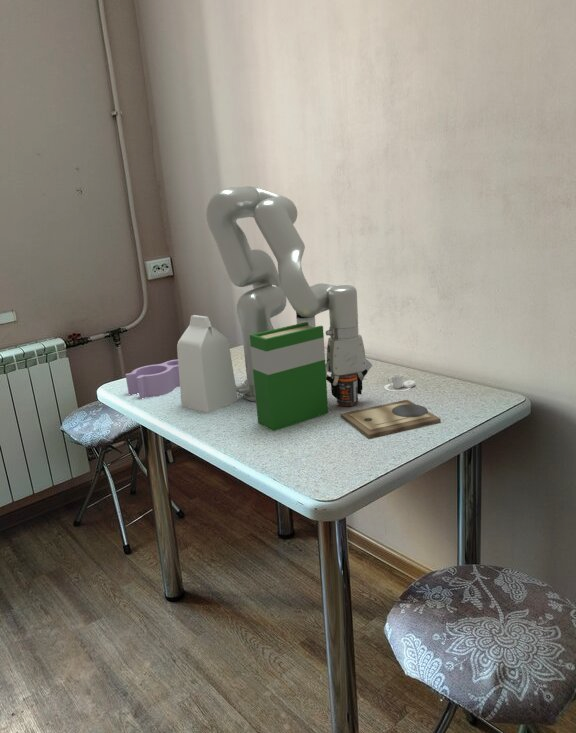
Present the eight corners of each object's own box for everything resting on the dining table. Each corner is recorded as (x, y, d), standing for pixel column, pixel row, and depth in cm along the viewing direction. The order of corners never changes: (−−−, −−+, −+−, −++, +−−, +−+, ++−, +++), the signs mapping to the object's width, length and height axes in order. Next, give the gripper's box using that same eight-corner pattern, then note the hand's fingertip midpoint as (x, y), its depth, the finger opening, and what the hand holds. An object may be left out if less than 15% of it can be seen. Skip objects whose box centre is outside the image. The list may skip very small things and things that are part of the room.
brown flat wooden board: (368, 438, 147) (368, 433, 147) (340, 417, 162) (340, 412, 161) (442, 421, 153) (442, 416, 153) (408, 402, 168) (408, 398, 168)
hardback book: (312, 406, 171) (306, 322, 164) (328, 413, 165) (323, 326, 158) (258, 423, 162) (249, 334, 155) (273, 431, 156) (265, 339, 149)
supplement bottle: (334, 406, 169) (332, 367, 166) (340, 399, 174) (338, 361, 171) (355, 408, 167) (353, 368, 164) (360, 400, 172) (359, 361, 169)
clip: (176, 377, 208) (173, 357, 206) (198, 383, 200) (195, 363, 198) (124, 393, 195) (120, 373, 193) (145, 401, 186) (142, 379, 184)
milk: (181, 405, 180) (169, 318, 172) (211, 393, 188) (201, 310, 180) (208, 413, 172) (197, 322, 165) (238, 400, 180) (228, 313, 173)
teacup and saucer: (417, 385, 182) (417, 372, 181) (410, 394, 175) (410, 380, 174) (388, 383, 186) (388, 370, 185) (380, 392, 179) (380, 378, 178)
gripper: (320, 339, 159) (323, 405, 164) (379, 330, 164) (381, 393, 169) (309, 334, 166) (313, 396, 171) (366, 324, 171) (368, 386, 176)
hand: (347, 394), depth 170 cm, fingers closed on supplement bottle, 6 cm apart
